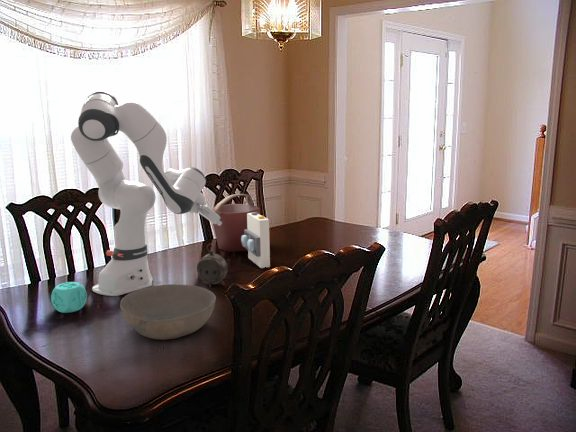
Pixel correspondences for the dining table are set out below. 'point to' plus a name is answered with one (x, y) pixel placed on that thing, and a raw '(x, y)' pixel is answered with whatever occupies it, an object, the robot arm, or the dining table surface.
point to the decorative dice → (69, 297)
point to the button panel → (258, 239)
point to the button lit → (251, 245)
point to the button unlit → (244, 240)
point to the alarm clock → (212, 268)
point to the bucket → (232, 222)
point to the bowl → (168, 310)
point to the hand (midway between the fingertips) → (220, 223)
